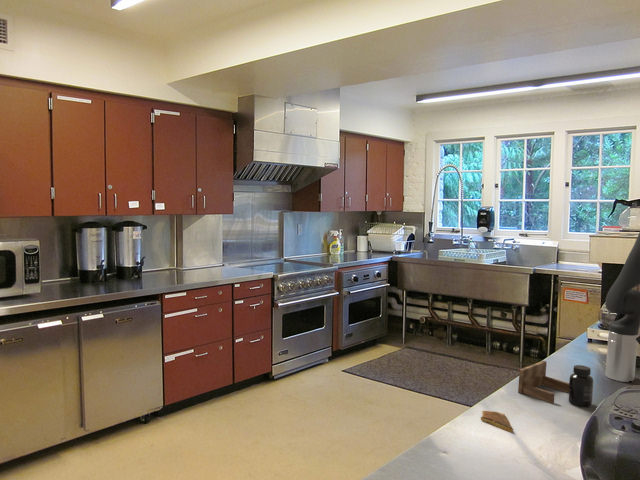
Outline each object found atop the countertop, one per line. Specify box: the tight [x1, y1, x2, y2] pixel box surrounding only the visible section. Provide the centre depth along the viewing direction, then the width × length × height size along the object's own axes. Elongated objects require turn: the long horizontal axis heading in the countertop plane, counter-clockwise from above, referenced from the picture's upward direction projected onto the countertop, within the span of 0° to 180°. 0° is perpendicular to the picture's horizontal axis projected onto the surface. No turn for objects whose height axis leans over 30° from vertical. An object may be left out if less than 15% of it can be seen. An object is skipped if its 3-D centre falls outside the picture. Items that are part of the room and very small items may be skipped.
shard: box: [480, 410, 514, 433], centre depth 145 cm, size 11×8×2 cm
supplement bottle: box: [568, 364, 595, 408], centre depth 160 cm, size 7×7×12 cm
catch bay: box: [517, 360, 569, 404], centre depth 169 cm, size 16×11×8 cm
